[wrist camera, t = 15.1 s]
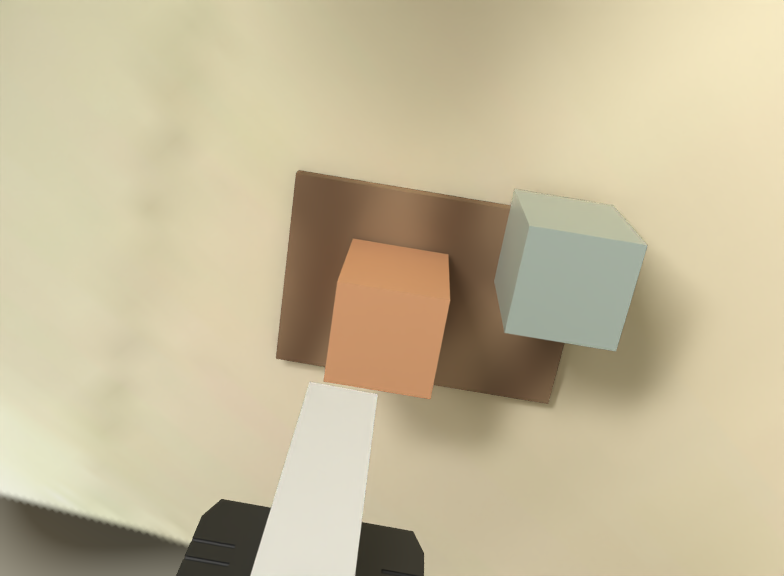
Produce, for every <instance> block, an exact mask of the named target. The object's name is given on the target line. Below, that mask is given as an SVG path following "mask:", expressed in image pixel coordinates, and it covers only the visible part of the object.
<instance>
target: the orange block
mask: <svg viewBox="0 0 784 576" xmlns="http://www.w3.org/2000/svg"><path fill="white" fill-rule="evenodd" d="M449 304H450V283H449V258H448V254H443V253H437V252H431V251H425V250H419V249H413V248H407V247H401V246H395V245H389V244H383V243H377V242H371V241H365V240H359V239H353V240H352V242H351V245H350V248H349V251H348V253H347V256H346V259H345V262H344V264H343V267H342V270H341V273H340V276H339V278H338V281H337V287H336V295H335V302H334V309H333V316H332V324H331V331H330V338H329V346H328V353H327V360H326V367H325V375H324V382H330V383H336V384H342V385H348V386H354V387H360V388H366V389H372V390H378V391H384V392H390V393H396V394H402V395H408V396H414V397H420V398H426V399H431V394H432V389H433V384H434V379H435V374H436V369H437V364H438V359H439V354H440V349H441V344H442V339H443V334H444V329H445V324H446V319H447V314H448V309H449Z"/></svg>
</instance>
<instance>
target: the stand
mask: <svg viewBox="0 0 784 576" xmlns="http://www.w3.org/2000/svg"><path fill="white" fill-rule="evenodd" d="M510 207H511V206H510V205H504V204H498V203H492V202H486V201H480V200H474V199H468V198H462V197H456V196H450V195H444V194H438V193H432V192H426V191H420V190H414V189H408V188H402V187H396V186H390V185H384V184H378V183H372V182H366V181H360V180H354V179H348V178H342V177H336V176H330V175H324V174H318V173H312V172H306V171H300V170H299V171H298V172H297V173H296V179H295V188H294V197H293V206H292V216H291V225H290V234H289V243H288V252H287V261H286V271H285V280H284V289H283V298H282V307H281V317H280V326H279V335H278V344H277V353H276V359H281V360H287V361H293V362H299V363H305V364H312V365H318V366H324V367H326V360H327V353H328V346H329V338H330V331H331V324H332V316H333V309H334V302H335V295H336V287H337V281H338V278H339V276H340V273H341V270H342V267H343V264H344V262H345V259H346V256H347V253H348V251H349V248H350V245H351V242H352V240H353V239H359V240H365V241H371V242H377V243H383V244H389V245H395V246H401V247H407V248H413V249H419V250H425V251H431V252H437V253H443V254H448V258H449V283H450V304H449V309H448V314H447V319H446V324H445V329H444V334H443V339H442V344H441V349H440V354H439V359H438V364H437V369H436V374H435V379H434V384H433V385H438V386H444V387H450V388H456V389H462V390H468V391H474V392H480V393H486V394H492V395H498V396H504V397H510V398H516V399H522V400H528V401H534V402H540V403H546V404H548V402H549V399H550V395H551V391H552V387H553V384H554V380H555V376H556V373H557V369H558V365H559V361H560V358H561V354H562V350H563V346H564V343H562V342H556V341H550V340H544V339H538V338H532V337H526V336H520V335H514V334H508V333H504V328H503V323H502V318H501V313H500V308H499V303H498V298H497V293H496V288H495V283H494V279H495V275H496V270H497V266H498V261H499V257H500V252H501V248H502V243H503V239H504V234H505V230H506V225H507V221H508V216H509V212H510Z"/></svg>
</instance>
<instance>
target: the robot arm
mask: <svg viewBox="0 0 784 576" xmlns="http://www.w3.org/2000/svg"><path fill="white" fill-rule="evenodd" d="M377 396H378V394H374V393H368V392H363V391H357V390H352V389H347V388H341V387H336V386H330V385H325V384H319V383H314V382H309V385H308V389H307V392H306V395H305V399H304V402H303V405H302V408H301V412H300V415H299V418H298V421H297V425H296V428H295V431H294V435H293V438H292V441H291V444H290V448H289V451H288V454H287V457H286V461H285V464H284V467H283V471H282V474H281V477H280V480H279V484H278V487H277V490H276V493H275V497H274V500H273V503H272V507H271V508H269V507H263V506H258V505H252V504H247V503H241V502H236V501H230V500H224V499H221V500H220V501H219V502H218V503H216V504H215V505H214V506H213V507H212V508H211V509H209V510H208V511H207V512H206V513H205V514H204V515H202V517H201V519H200V522H199V524H198V526H197V529H196V531H195V533H194V536H193V539H192V542H191V543H190V545H189V547H188V550H187V552H186V554H185V559H184V560H183V561H182V563H181V566H180V568H179V570H178V573H177V575H176V576H424V552H423V550H422V548H421V546H420V544H419V542H418V540H417V538H416V536H415V534H414V532H413V531H408V530H402V529H397V528H391V527H386V526H380V525H374V524H369V523H363V522H362V515H363V508H364V500H365V492H366V484H367V476H368V468H369V460H370V452H371V444H372V436H373V428H374V420H375V412H376V404H377Z"/></svg>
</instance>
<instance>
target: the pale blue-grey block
mask: <svg viewBox="0 0 784 576" xmlns="http://www.w3.org/2000/svg"><path fill="white" fill-rule="evenodd" d="M646 249H647V244H646V243H645V242H644V241H643V239H642V238H641V237H640V236H639V235H638V234H637V232H636V231H635V230H634V229H633V228H632V227H631V226H630V224H629V223H628V222H627V221H626V220H625V219H624V217H623V216H622V215H621V214H620V213H619V212H618V210H617V209H616V208H615V207H614V206H613V205H608V204H602V203H596V202H590V201H584V200H578V199H572V198H566V197H560V196H554V195H548V194H542V193H536V192H530V191H524V190H518V189H514V194H513V198H512V203H511V207H510V212H509V216H508V221H507V225H506V230H505V234H504V239H503V243H502V248H501V252H500V257H499V261H498V266H497V270H496V275H495V279H494V283H495V288H496V293H497V298H498V303H499V308H500V313H501V318H502V323H503V328H504V333H508V334H514V335H520V336H526V337H532V338H538V339H544V340H550V341H556V342H562V343H568V344H574V345H580V346H586V347H592V348H598V349H605V350H611V351H616V350H617V346H618V343H619V340H620V336H621V333H622V329H623V326H624V323H625V319H626V316H627V313H628V309H629V306H630V303H631V299H632V296H633V292H634V289H635V286H636V282H637V279H638V276H639V272H640V269H641V266H642V262H643V259H644V255H645V252H646Z"/></svg>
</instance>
